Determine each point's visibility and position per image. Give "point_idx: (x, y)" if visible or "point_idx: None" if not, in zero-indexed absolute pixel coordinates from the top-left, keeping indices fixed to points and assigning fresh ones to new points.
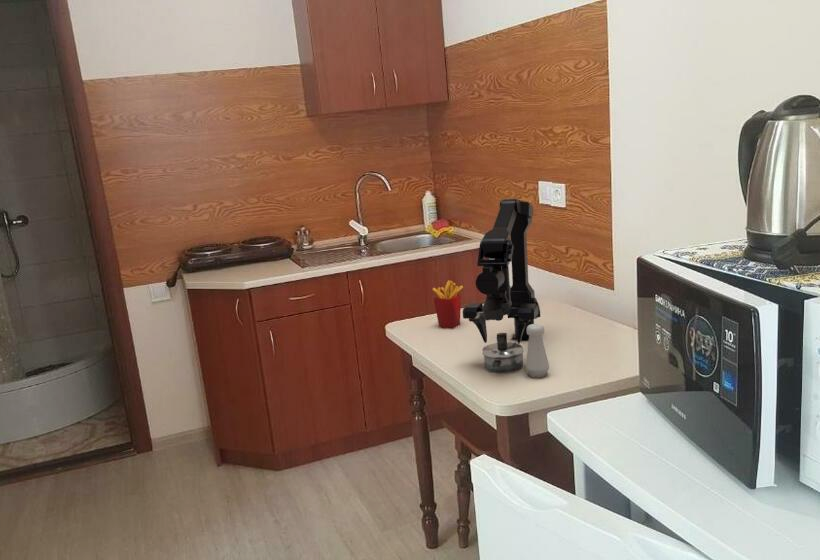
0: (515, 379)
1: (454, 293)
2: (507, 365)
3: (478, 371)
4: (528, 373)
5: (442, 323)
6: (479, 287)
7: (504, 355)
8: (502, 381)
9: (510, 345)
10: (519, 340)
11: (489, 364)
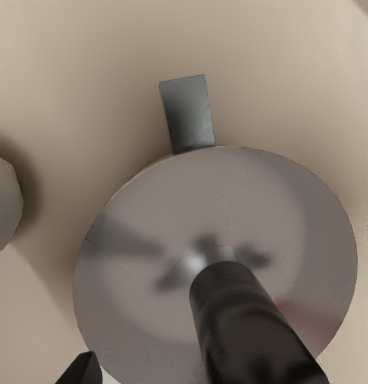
0: (55, 87)
1: None
2: None
3: (289, 137)
4: (9, 163)
5: None
6: None
7: (147, 169)
8: (109, 33)
9: (199, 363)
10: (62, 380)
11: None
